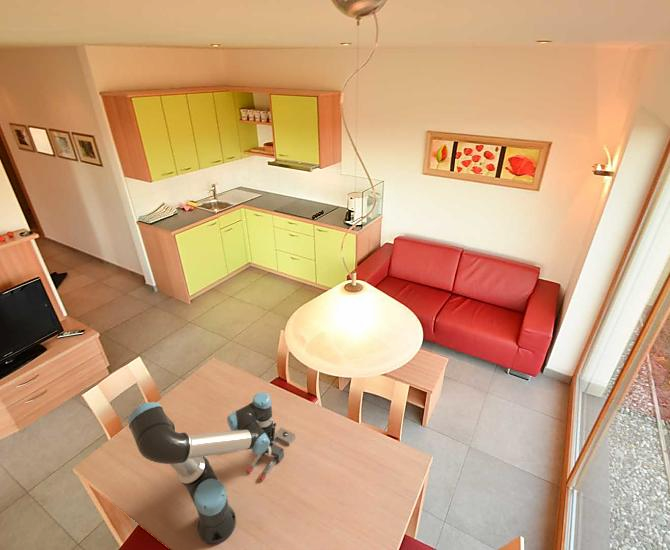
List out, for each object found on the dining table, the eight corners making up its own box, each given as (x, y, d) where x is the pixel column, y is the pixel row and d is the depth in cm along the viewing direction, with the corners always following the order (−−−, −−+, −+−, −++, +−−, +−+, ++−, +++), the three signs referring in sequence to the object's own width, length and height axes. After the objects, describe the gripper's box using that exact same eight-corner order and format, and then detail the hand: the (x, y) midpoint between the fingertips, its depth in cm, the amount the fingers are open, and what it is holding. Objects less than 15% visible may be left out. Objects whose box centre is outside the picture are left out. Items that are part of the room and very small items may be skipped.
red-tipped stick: (281, 451, 192) (280, 448, 191) (283, 453, 192) (283, 450, 191) (259, 480, 179) (259, 477, 178) (261, 481, 179) (261, 478, 178)
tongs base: (281, 430, 204) (280, 426, 202) (295, 437, 200) (295, 433, 199) (246, 473, 183) (246, 469, 181) (262, 482, 179) (261, 478, 178)
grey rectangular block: (265, 446, 195) (264, 438, 192) (284, 456, 190) (283, 448, 187) (260, 452, 192) (259, 444, 189) (279, 462, 187) (278, 455, 184)
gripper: (262, 435, 169) (266, 469, 181) (279, 414, 179) (282, 447, 191) (248, 428, 172) (253, 461, 184) (266, 408, 182) (270, 441, 194)
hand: (268, 454), depth 187 cm, fingers closed
